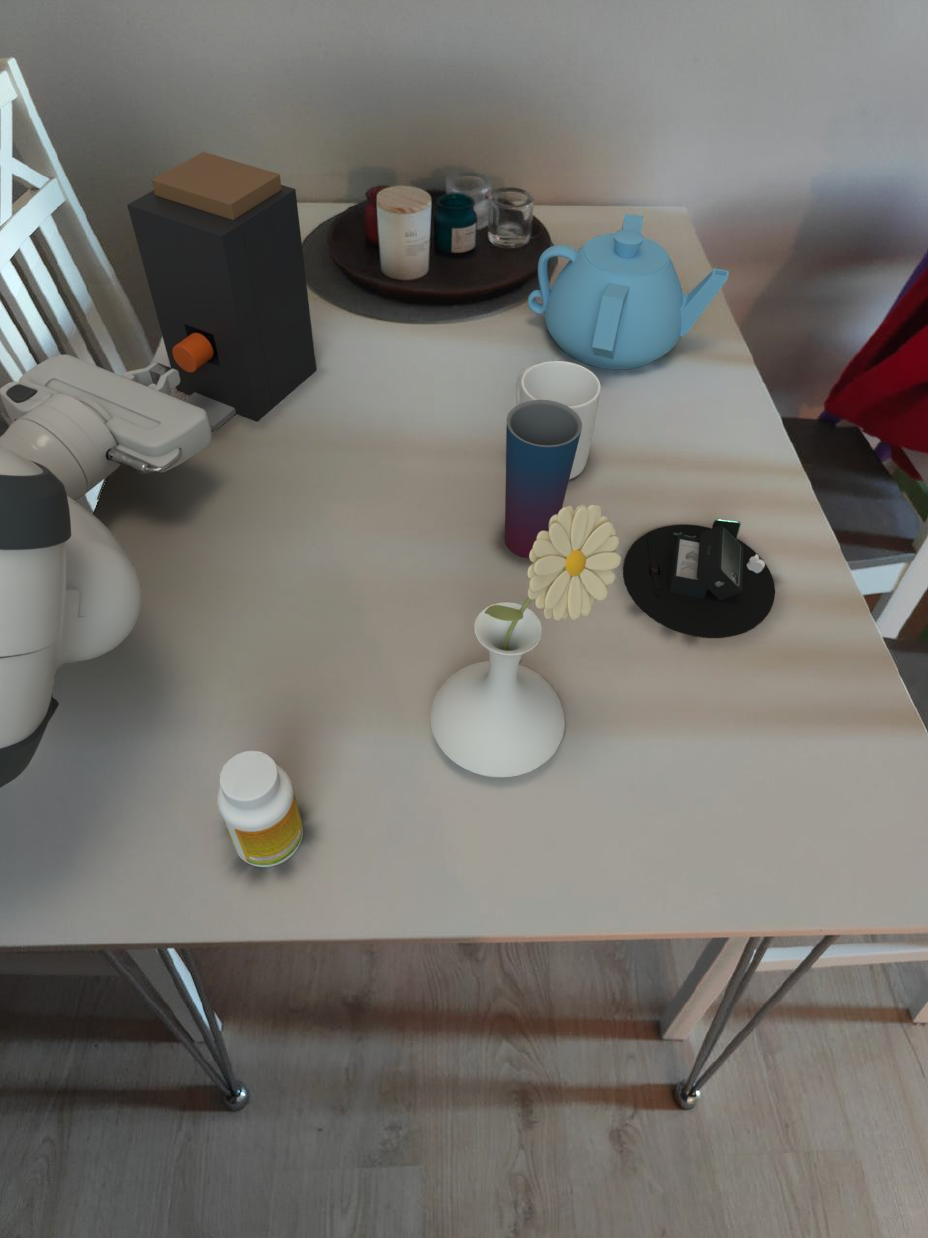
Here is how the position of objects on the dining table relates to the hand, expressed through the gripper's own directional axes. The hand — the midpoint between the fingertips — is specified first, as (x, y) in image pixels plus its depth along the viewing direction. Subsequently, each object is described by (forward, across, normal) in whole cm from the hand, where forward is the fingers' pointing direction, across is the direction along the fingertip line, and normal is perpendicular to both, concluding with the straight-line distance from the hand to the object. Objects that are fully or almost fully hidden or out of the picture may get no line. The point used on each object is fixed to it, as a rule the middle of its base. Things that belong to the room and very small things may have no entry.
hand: (169, 371), depth 91 cm
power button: (+4, 0, +2) cm, 4 cm away
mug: (+18, -37, +8) cm, 42 cm away
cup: (+4, -42, +8) cm, 43 cm away
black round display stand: (+8, -59, +8) cm, 60 cm away
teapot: (+44, -35, +8) cm, 57 cm away
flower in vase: (-17, -50, +8) cm, 53 cm away
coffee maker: (+10, 0, +8) cm, 13 cm away
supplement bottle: (-35, -38, +8) cm, 53 cm away
